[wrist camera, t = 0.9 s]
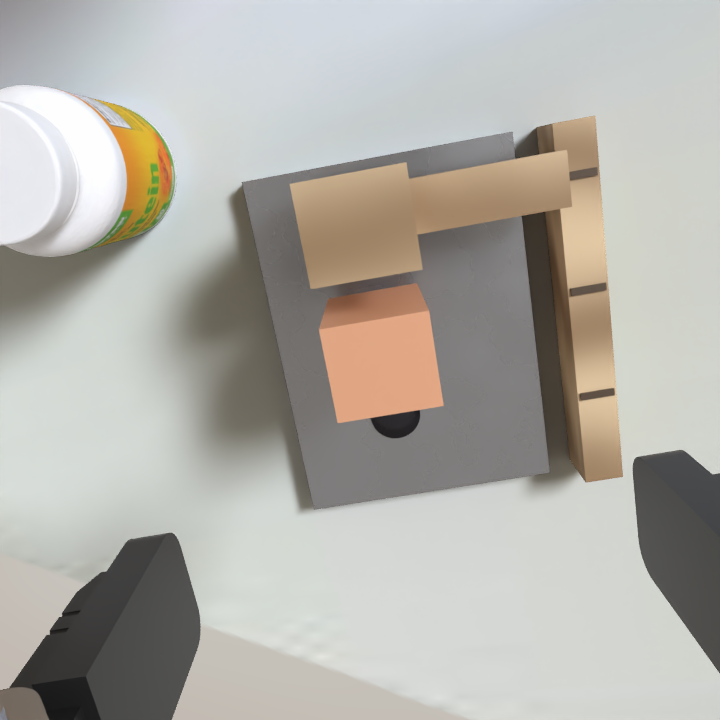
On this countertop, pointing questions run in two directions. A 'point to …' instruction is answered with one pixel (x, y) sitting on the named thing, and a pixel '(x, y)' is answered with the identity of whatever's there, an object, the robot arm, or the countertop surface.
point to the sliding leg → (380, 353)
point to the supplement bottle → (77, 172)
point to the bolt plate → (451, 340)
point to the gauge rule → (479, 205)
